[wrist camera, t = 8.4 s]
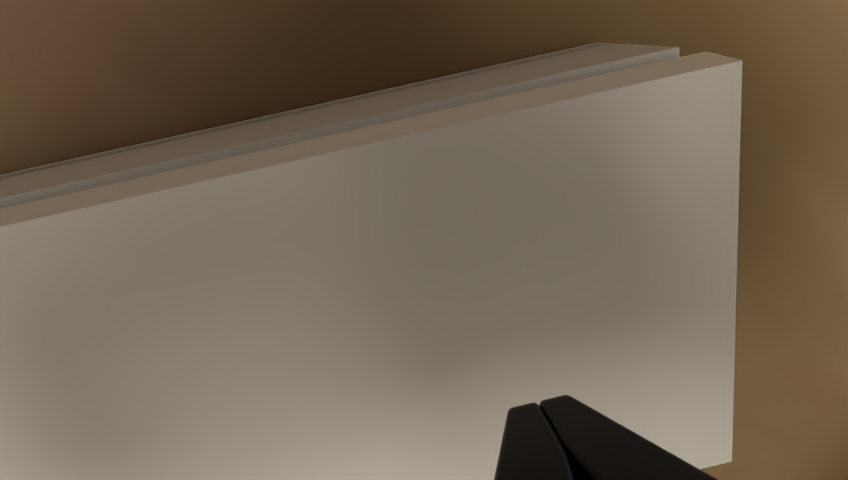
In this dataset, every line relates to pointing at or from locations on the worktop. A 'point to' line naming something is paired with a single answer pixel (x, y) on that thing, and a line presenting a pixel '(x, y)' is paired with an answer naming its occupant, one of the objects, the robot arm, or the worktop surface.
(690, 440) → the lid
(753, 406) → the worktop surface
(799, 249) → the worktop surface
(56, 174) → the cable tray
